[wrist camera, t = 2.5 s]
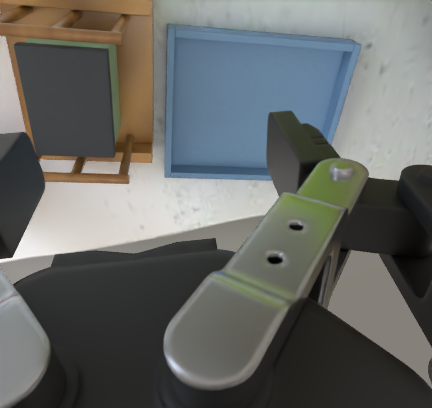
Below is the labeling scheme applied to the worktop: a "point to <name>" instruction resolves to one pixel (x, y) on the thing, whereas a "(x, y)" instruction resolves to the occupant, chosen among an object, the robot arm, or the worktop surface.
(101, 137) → the tub
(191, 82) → the tray
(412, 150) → the worktop surface
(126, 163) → the dish rack
